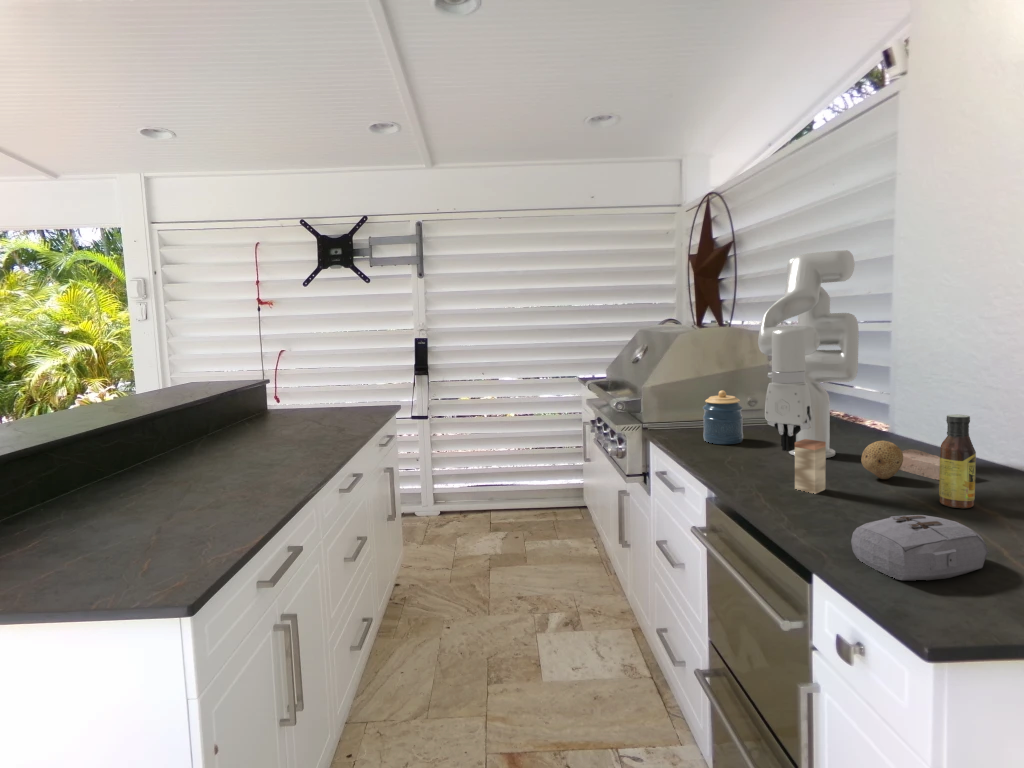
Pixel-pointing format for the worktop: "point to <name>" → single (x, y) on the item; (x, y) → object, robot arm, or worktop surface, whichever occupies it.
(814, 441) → the maple block
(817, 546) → the worktop surface
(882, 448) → the natural sponge
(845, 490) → the worktop surface
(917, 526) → the soft grey pack
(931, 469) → the brick
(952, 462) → the sauce bottle
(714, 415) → the canister
